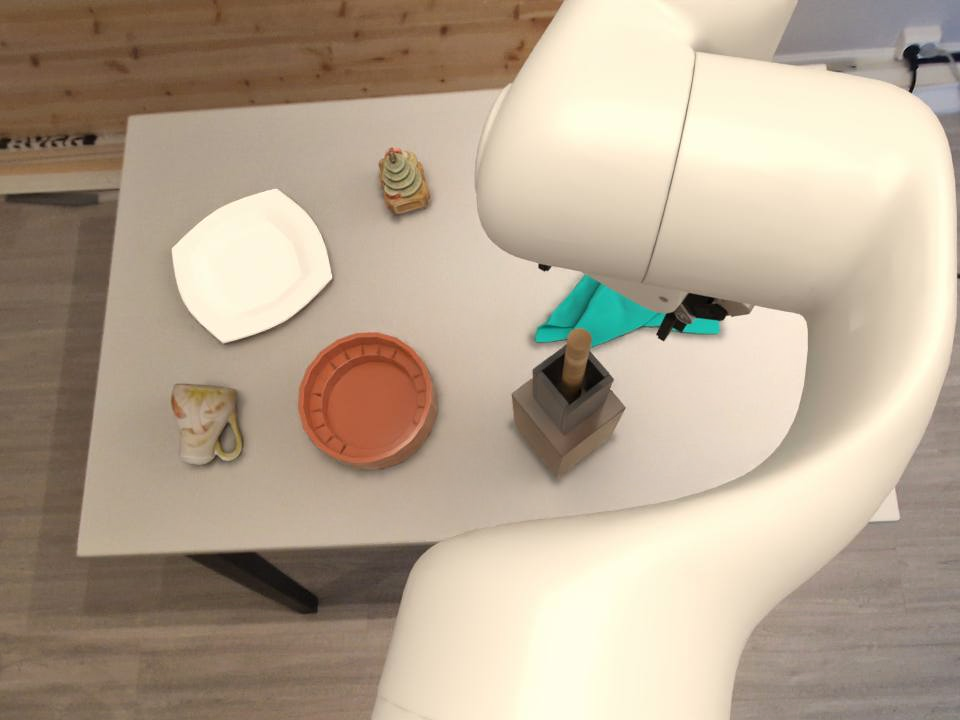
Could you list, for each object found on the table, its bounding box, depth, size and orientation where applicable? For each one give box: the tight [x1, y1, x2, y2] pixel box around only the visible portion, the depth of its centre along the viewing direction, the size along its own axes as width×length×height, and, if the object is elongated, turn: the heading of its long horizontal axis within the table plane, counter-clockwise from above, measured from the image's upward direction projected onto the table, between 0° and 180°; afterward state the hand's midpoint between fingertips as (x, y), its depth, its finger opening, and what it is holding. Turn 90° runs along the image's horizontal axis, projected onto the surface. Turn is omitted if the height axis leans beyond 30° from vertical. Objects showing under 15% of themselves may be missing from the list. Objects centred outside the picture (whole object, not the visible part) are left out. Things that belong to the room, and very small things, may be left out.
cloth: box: [534, 274, 721, 348], centre depth 86 cm, size 26×14×2 cm, turn 95°
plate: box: [170, 187, 333, 344], centre depth 91 cm, size 19×19×2 cm
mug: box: [170, 383, 243, 466], centre depth 83 cm, size 8×10×10 cm
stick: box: [560, 328, 592, 404], centre depth 61 cm, size 2×2×18 cm
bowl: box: [297, 331, 438, 471], centre depth 82 cm, size 15×15×6 cm
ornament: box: [378, 146, 431, 216], centre depth 89 cm, size 8×6×10 cm
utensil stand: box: [510, 343, 627, 479], centre depth 72 cm, size 8×8×23 cm
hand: (610, 288), depth 50 cm, fingers open, 9 cm apart
